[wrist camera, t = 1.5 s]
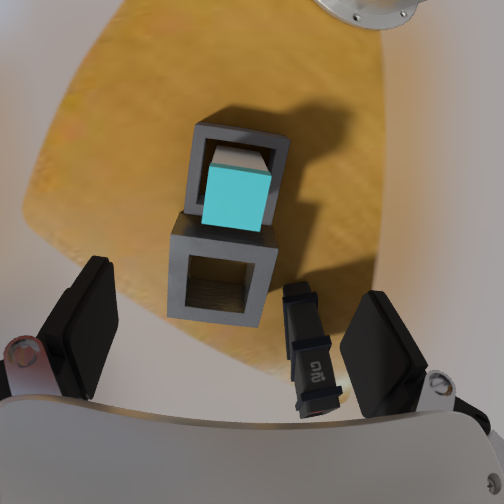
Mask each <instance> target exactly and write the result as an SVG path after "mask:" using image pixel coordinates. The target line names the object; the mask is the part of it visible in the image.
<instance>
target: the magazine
mask: <svg viewBox="0 0 504 504" xmlns="http://www.w3.org/2000/svg"><path fill="white" fill-rule="evenodd" d="M282 300H283V312H284V325H285V338H286V351H287V360H291V381H292V382H293V381H294V382H295V388H296V394H297V400H298V401H297V403H296V405H295V407H296V411H298V410H299V412H300V418H301V419H303V418H309V417H314V416H319V415H323V414H327V413H329V412H331V411H333V410H335V409H337V408H339V407H340V403H339V397H338V396H340V395H341V394H343V392H342V386H337V387H336V382H335V377H334V372H333V367H332V363H331V358H330V354H329V350H330V348H331V345H332V343H331V339H330V336H329V335H328V336H325V335H324V331H323V327H322V323H321V320H320V316H319V313H318V296H317V293H316V292H311V289H310V286H309V284H308V282H301V283H295V284H289V285H284V286H283V297H282Z"/></svg>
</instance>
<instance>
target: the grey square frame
mask: <svg viewBox="0 0 504 504" xmlns="http://www.w3.org/2000/svg"><path fill="white" fill-rule="evenodd" d="M207 138H211V139H218V140H225V141H232V142H238V143H244V144H250V145H256V146H262V147H267V148H271V152H270V157H269V161H268V166H267V169H268V171H269V172H270V173H271V176H272V177H271V182H270V186H269V191H268V196H267V200H266V205H265V209H264V214H263V218H262V223H261V224H264V225H270V226H271V224H272V219H273V215H274V211H275V206H276V202H277V198H278V194H279V189H280V185H281V180H282V176H283V172H284V167H285V163H286V159H287V154H288V150H289V145H290V141H291V140H290V139H288V138H287V137H286V136H284V135H279V134H274V133H269V132H263V131H258V130H252V129H246V128H240V127H234V126H227V125H220V124H213V123H206V122H198V123H197V124H195V129H194V135H193V142H192V149H191V156H190V164H189V172H188V180H187V188H186V197H185V206H184V213H186V214H194V215H201V216H203V208H204V201H205V194H199V192H200V185H201V178H202V170H203V164H204V157H205V150H206V144H207Z"/></svg>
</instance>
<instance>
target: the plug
mask: <svg viewBox="0 0 504 504" xmlns="http://www.w3.org/2000/svg"><path fill="white" fill-rule="evenodd" d="M271 177H272V176H271V173H270V172H269V171H268V169H267V167H266V165H265V163H264V160H263V158H262V156H261V154H260V152H257V151H252V150H246V149H239V148H233V147H227V146H220V145H217V147H216V150H215V153H214V156H213V160H212V162H211V163H210V166H209V173H208V180H207V187H206V194H205V201H204V208H203V216H202V224H209V225H216V226H223V227H230V228H237V229H244V230H251V231H258V232H260V228H261V223H262V218H263V214H264V209H265V205H266V200H267V196H268V191H269V186H270V182H271Z"/></svg>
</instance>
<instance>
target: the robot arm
mask: <svg viewBox="0 0 504 504" xmlns="http://www.w3.org/2000/svg"><path fill="white" fill-rule="evenodd" d="M314 1H315V2H316V3H317V4H318V5H319V6H320V7H321V8H322V9H324V10H325V11H326V12H328V13H329V14H330V15H332V16H333V17H335V18H337V19H339V20H340V21H342V22H344V23H347V24H349V25H352V26H354V27H357V28H362V29H366V30H375V31H379V30H388V29H392V28H395V27H398V26H400V25H402V24H404V23H406V22H407V21H408V20H409V19H410V18H411V17H412V16H413V14H414V13H415V11H416V8H417V5H418V3H420V2H423V1H426V0H314ZM353 17H354V18H355V19H356V21H355V20H354V19H353ZM118 321H119V319H118V311H117V301H116V291H115V280H114V266H113V263H112V262H109V259H108V258H107V257H100V256H92V257H91V258H90V260H89V261H88V262H87V264H86V265H85V267H84V268H83V270H82V271H81V273H80V274H79V275H78V277H77V278H76V280H75V281H74V283H73V284H72V286H71V287H70V288H67V289H66V290H65V291H64V293H63V294H62V296H61V297H60V299H59V301H58V302H57V304H56V305H55V307H54V308H53V310H52V312H51V313H50V315H49V316H48V318H47V320H46V321H45V323H44V325H43V326H42V328H41V330H40V331H39V333H38V335H37V336H36V337H33V336H28V335H24V336H19V337H17V338H14V339H13V340H12V341H10V342H9V343H8V345H7V346H6V347H5V350H4V353H3V357H4V359H3V360H1V361H0V504H504V440H503V439H502V438H501V437H500V436H499V435H498V434H497V433H496V432H495V431H494V430H492V431H491V432H490V430H491V426H490V421H489V419H488V417H487V416H486V414H484V413H483V412H482V411H480V410H478V409H477V408H475V407H473V406H471V405H469V404H468V403H466V402H464V401H463V400H461V399H460V398H458V397H456V396H455V394H456V388H455V384H454V382H453V381H452V379H451V378H450V377H449V376H448V375H447V374H445V373H444V372H441V371H438V370H432V371H429V372H428V373H426V371H425V369H426V368H427V367H428V364H427V362H426V360H425V358H424V357H423V355H422V353H421V351H420V350H419V348H418V346H417V345H416V343H415V341H414V340H413V338H412V336H411V334H410V333H409V331H408V329H407V328H406V326H405V324H404V323H403V321H402V319H401V318H400V316H399V315H398V313H397V311H396V310H395V308H394V307H393V305H392V303H391V302H390V300H389V299H388V297H387V296H386V294H385V293H384V292H383V291H374V290H370V291H368V292H367V293H366V294H364V295H363V297H362V299H361V302H360V304H359V306H358V308H357V310H356V312H355V314H354V316H353V318H352V321H351V323H350V325H349V327H348V329H347V331H346V333H345V335H344V337H343V339H342V341H341V343H340V352H341V355H342V357H343V360H344V363H345V366H346V369H347V372H348V374H349V377H350V380H351V383H352V386H353V389H354V392H355V395H356V398H357V401H358V403H359V407H360V410H361V413H362V415H363V416H364V417H365V419H357V420H346V421H332V422H314V423H241V422H240V423H239V422H224V421H223V422H222V421H210V420H199V419H190V418H181V417H173V416H166V415H159V414H152V413H147V412H140V411H135V410H129V409H124V408H119V407H114V406H108V405H104V404H100V403H95V402H90V401H88V399H92V398H93V397H94V393H95V391H96V388H97V384H98V381H99V378H100V375H101V373H102V370H103V367H104V364H105V361H106V358H107V355H108V352H109V350H110V347H111V344H112V342H113V339H114V336H115V333H116V331H117V328H118Z"/></svg>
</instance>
